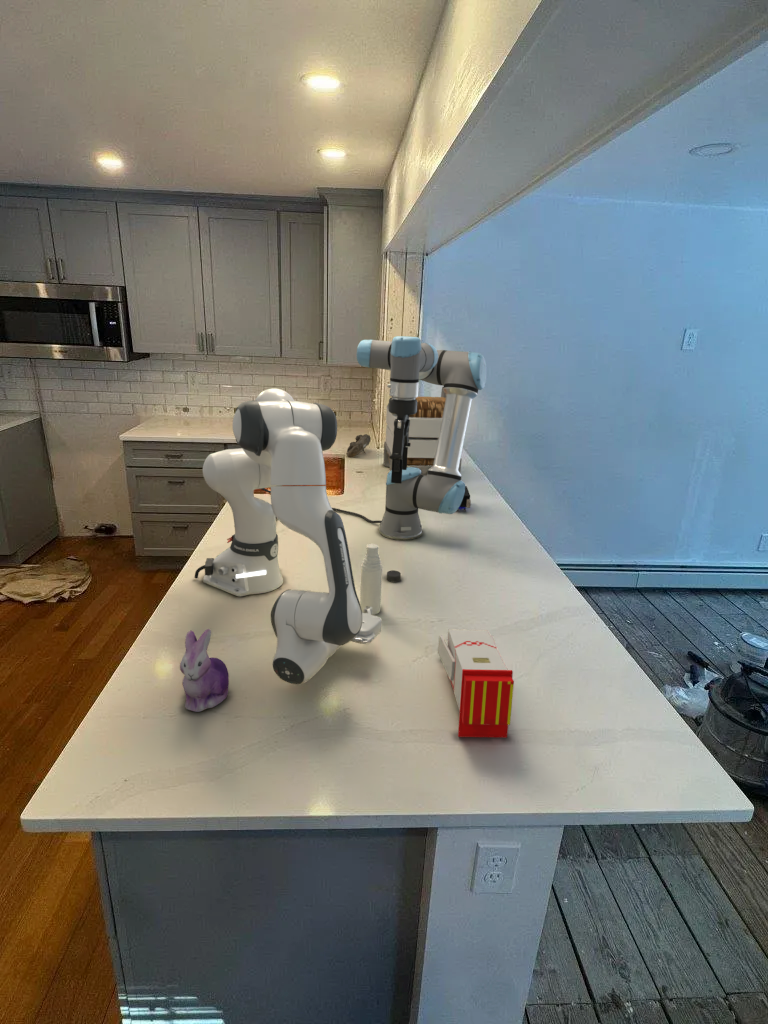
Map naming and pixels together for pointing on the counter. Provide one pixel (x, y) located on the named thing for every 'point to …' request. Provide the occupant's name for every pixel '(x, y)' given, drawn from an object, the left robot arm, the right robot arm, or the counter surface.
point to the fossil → (358, 445)
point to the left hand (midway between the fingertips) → (351, 604)
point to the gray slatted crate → (419, 432)
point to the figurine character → (465, 500)
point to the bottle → (371, 580)
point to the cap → (393, 576)
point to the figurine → (202, 674)
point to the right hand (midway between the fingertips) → (399, 475)
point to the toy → (478, 682)
